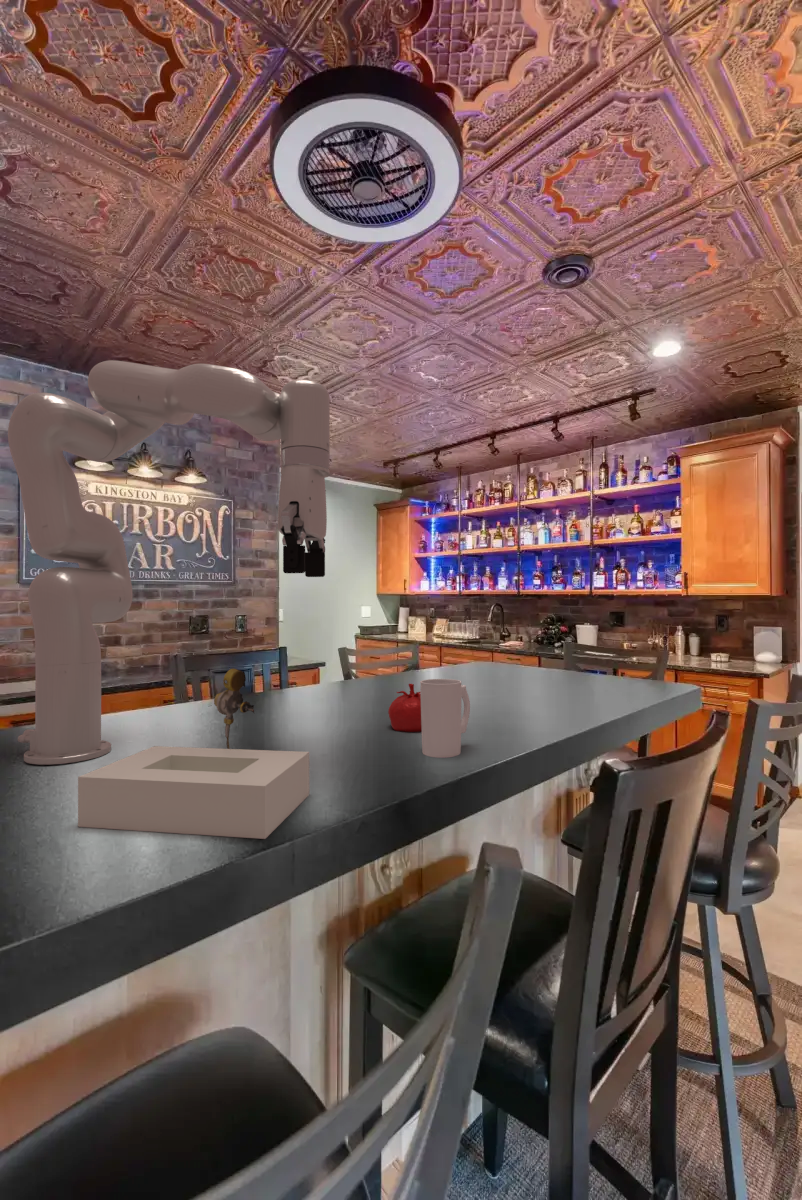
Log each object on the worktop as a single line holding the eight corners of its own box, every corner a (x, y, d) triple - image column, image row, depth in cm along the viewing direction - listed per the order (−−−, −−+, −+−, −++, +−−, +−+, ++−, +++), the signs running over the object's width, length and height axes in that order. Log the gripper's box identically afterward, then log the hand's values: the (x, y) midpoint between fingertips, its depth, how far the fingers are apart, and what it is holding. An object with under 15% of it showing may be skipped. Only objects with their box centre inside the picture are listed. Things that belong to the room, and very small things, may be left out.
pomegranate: (433, 738, 103) (433, 687, 103) (382, 735, 106) (381, 686, 106) (444, 727, 112) (443, 681, 113) (396, 724, 115) (396, 679, 115)
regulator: (208, 768, 84) (208, 669, 84) (227, 761, 88) (227, 666, 88) (245, 774, 81) (245, 671, 81) (264, 767, 84) (263, 668, 84)
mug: (440, 762, 86) (439, 685, 86) (412, 754, 92) (411, 681, 92) (484, 751, 93) (483, 679, 93) (455, 744, 98) (455, 676, 98)
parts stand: (78, 826, 62) (78, 777, 62) (154, 786, 76) (154, 746, 76) (265, 838, 58) (265, 786, 58) (309, 794, 72) (309, 751, 72)
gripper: (300, 478, 95) (300, 578, 95) (259, 450, 78) (259, 571, 78) (343, 476, 94) (343, 577, 94) (310, 447, 77) (310, 571, 77)
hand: (305, 575), depth 86 cm, fingers open, 9 cm apart
